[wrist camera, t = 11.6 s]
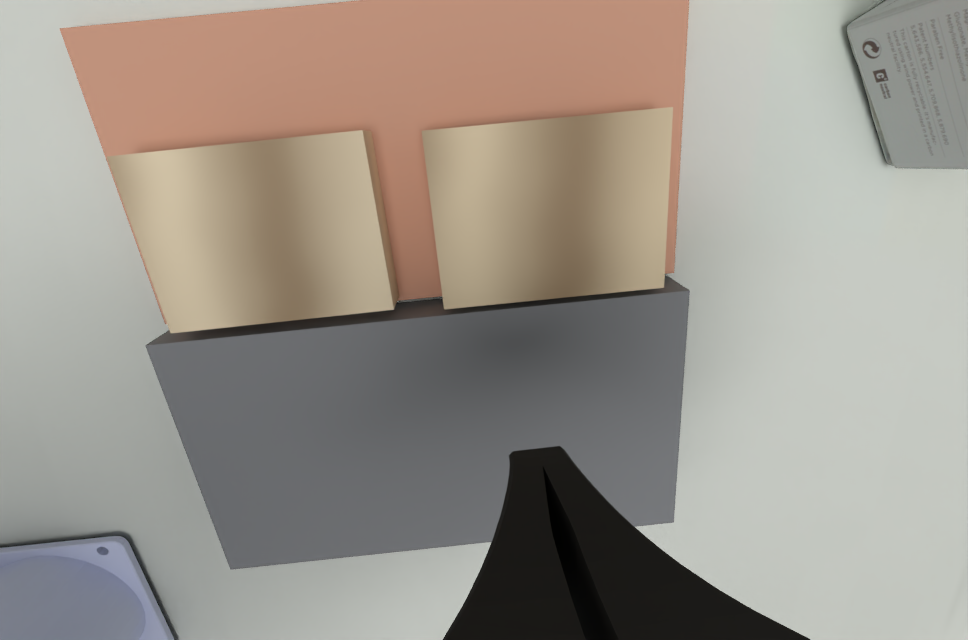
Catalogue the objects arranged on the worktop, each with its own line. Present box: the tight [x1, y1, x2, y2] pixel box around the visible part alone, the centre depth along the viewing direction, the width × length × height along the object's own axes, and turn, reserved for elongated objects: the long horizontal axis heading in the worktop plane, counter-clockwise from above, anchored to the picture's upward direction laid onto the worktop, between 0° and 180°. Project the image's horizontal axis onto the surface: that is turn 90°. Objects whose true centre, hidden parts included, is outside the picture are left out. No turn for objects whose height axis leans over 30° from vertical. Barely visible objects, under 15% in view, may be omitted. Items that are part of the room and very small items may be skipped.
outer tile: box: [422, 107, 673, 309], centre depth 17 cm, size 8×6×2 cm
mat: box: [60, 0, 689, 324], centre depth 17 cm, size 20×10×1 cm, turn 95°
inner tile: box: [107, 130, 399, 333], centre depth 17 cm, size 8×6×2 cm
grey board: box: [146, 276, 690, 569], centre depth 20 cm, size 20×11×2 cm, turn 95°
